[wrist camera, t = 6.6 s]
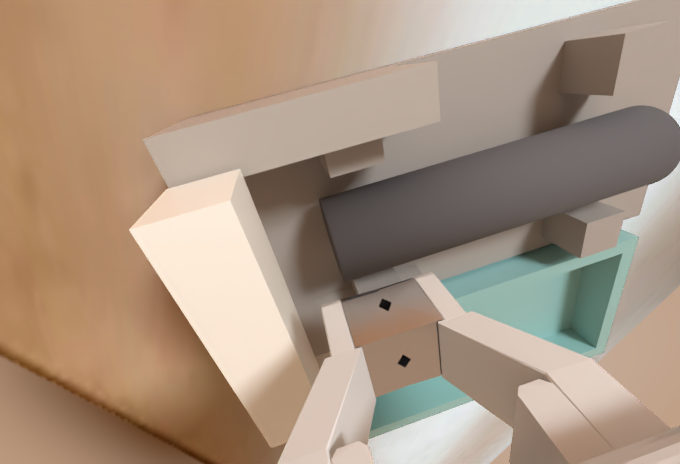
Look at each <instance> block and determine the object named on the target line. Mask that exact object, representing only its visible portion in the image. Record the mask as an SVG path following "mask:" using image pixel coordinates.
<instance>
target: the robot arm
mask: <svg viewBox="0 0 680 464" xmlns="http://www.w3.org/2000/svg"><path fill="white" fill-rule="evenodd" d="M340 300H341V302H340ZM340 300H338V301H335V302H331V303H327V304H324V305H321V311H322V316H323V321H324V325H325V330H326V335H327V340H328V345H329V350H330V354H331V357H328V358H325V359H324V362H323V364H322V366H321V368H320V371H319V373H318V375H317V377H316V379H315V382H314V384H313V386H312V388H311V390H310V393H309V395H308V397H307V399H306V401H305V404H304V406H303V408H302V410H301V413H300V415H299V417H298V419H297V421H296V424H295V426H294V428H293V430H292V432H291V435H290V437H289V439H288V441H287V443H286V446H285V448H284V450H283V452H282V455H281V457H280V459H279V461H278V463H277V464H374V461H373V458H372V455H371V452H370V449H369V446H367V443H368V438H369V434H370V429H371V424H372V419H373V414H374V409H375V404H376V397H379V396H381V395H384V394H387V393H389V392H392V391H395V390H398V389H400V388H403V387H406V386H408V385H412V384H415V383H418V382H422V381H425V380H428V379H432V378H435V377H438V376H441V375H442V377H443V378H444V379H445V380H447V381H448V382H450V383H451V384H452V385H454V386H455V387H457V388H458V389H459V390H461V391H462V392H464V393H465V394H466V395H468V396H469V397H471V398H472V399H473V400H475V401H476V402H477V403H479V404H480V405H482V406H483V407H484V408H486V409H487V410H489V411H490V412H491V413H493V414H494V415H496V416H497V417H498V418H500V419H501V420H503V421H504V422H505V423H507V424H508V425H509V426H511V427H512V428H513V436H512V443H511V452H510V460H509V462H510V464H680V426H678V427H675V428H672V429H671V428H670V427H669V426H667V425H666V424H665V423H664V422H663V421H662V420H660V418H658V417H657V416H656V415H655V414H654V413H653V412H652V411H650V410H649V409H648V408H647V407H646V406H645V405H644V404H643V403H641V402H640V401H639V400H638V399H637V398H636V397H635V396H634V395H632V394H631V393H630V392H629V391H628V390H627V389H626V388H625V387H623V386H622V385H621V384H620V383H619V382H618V381H617V380H615V379H614V378H613V377H612V376H611V375H610V374H609V373H608V372H606V371H605V370H604V369H603V368H602V367H601V366H600V365H599V364H597V363H596V362H595V361H594V360H593V359H591V358H589V357H586V356H584V355H581V354H578V353H576V352H573V351H571V350H568V349H566V348H563V347H561V346H558V345H556V344H553V343H551V342H548V341H546V340H543V339H541V338H538V337H536V336H533V335H531V334H528V333H526V332H523V331H521V330H518V329H516V328H513V327H511V326H508V325H506V324H503V323H501V322H498V321H496V320H493V319H491V318H488V317H486V316H483V315H481V314H478V313H476V312H473V311H471V312H468V313H466V312H465V311H464V309H463V308H462V307H461V306H460V305H459V303H458V302H457V301H456V300H455V299H454V297H453V296H452V295H451V294H450V292H449V291H448V290H447V289H446V288H445V286H444V285H443V284H442V283H441V282H440V280H439V279H438V278H437V277H436V276H435V274H434V273H432V272H427V273H424V274H421V275H418V276H415V277H412V278H410V279H407V280H404V281H401V282H397V283H394V284H391V285H388V286H385V287H382V288H379V289H375V290H372V291H368V292H365V293H361V294H358V295H354V296H351V297H347V298H344V299H340ZM342 307H343V308H342Z"/></svg>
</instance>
